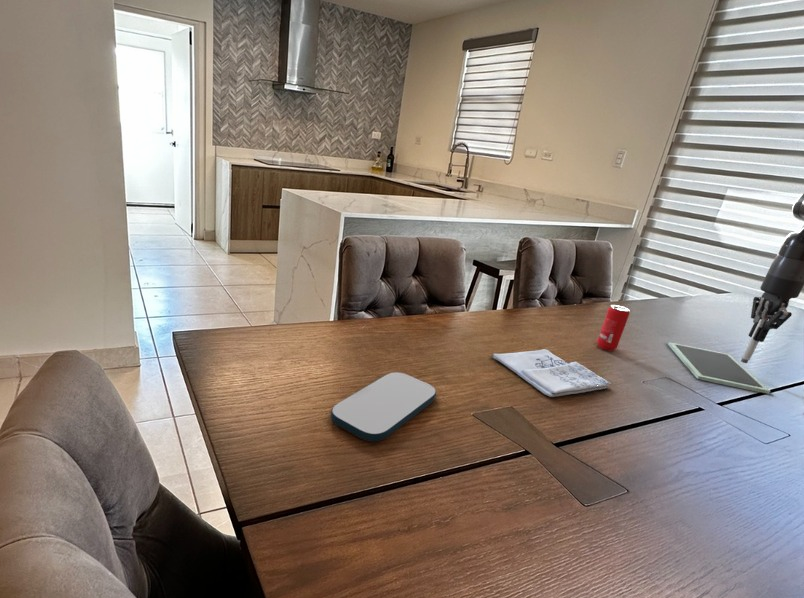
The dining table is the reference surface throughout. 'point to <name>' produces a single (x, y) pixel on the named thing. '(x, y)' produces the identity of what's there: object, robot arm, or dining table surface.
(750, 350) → the stylus
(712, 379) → the tablet
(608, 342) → the beverage can
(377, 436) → the external hard drive
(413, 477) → the dining table surface
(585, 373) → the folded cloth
